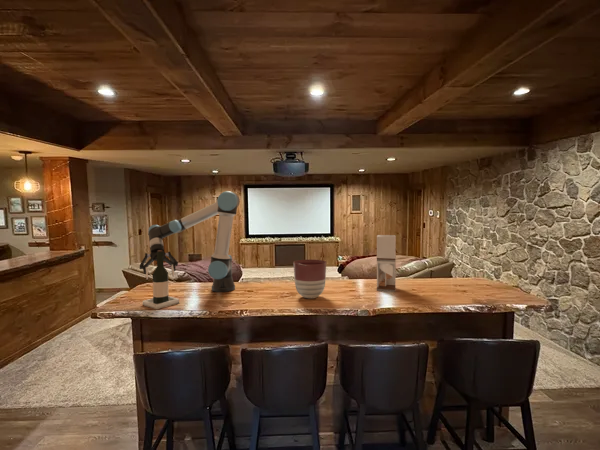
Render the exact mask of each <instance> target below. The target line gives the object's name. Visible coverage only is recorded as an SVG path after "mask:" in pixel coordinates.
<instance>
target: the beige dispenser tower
mask: <svg viewBox="0 0 600 450" xmlns="http://www.w3.org/2000/svg"><path fill="white" fill-rule="evenodd" d="M396 239H397V236H396V235H394V234H393V235H392V234H377V235H376V292H377V291H378V292H389V293H390V292H391V293H392V292H393V293H395V292H396V280H397V278H396V275H397V274H396V273H397V271H396V269H397V268H396V265H397V264H396V263H397V262H396V261H397V257H396V256H397V255H396V250H397V248H396V247H397V241H396Z"/></svg>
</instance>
